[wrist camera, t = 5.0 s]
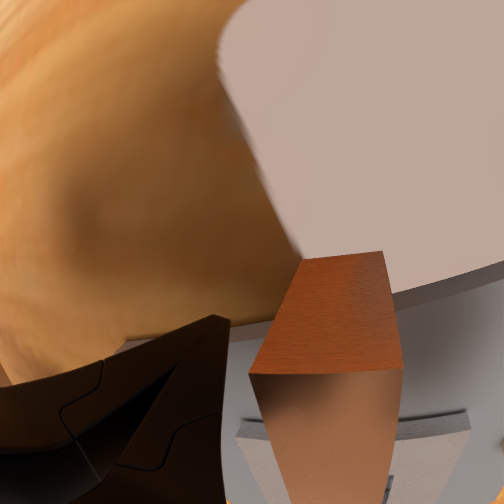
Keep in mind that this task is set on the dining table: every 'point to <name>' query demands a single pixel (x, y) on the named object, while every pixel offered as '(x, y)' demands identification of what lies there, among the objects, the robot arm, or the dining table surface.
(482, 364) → the slate board
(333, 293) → the flange plate
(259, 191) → the dining table surface
